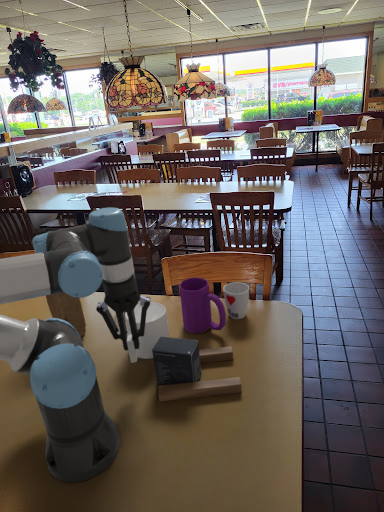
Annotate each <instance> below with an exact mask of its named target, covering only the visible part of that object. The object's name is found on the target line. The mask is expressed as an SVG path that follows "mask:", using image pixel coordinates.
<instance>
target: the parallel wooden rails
mask: <svg viewBox="0 0 384 512" xmlns="http://www.w3.org/2000/svg"><path fill="white" fill-rule="evenodd" d="M199 355H200V364H202V363H204V364H205V363H212V362H214V363H215V362H221V361H222V362H223V361H230V360H234V352H233V348H232V346H231V345H230V346H223V347H222V346H221V347H212V348H206V349H205V348H204V349H199ZM239 393H242V383H241V378H240V376H236V377H230V378H229V377H228V378H220V379H219V378H217V379H210V380H209V379H208V380H201V381H200V380H199V381H198V382H190V383H182V384H173V385H164V384H163V385H159V386H158V399H159V402H166V401H174V400H175V401H176V400H184V399H191V398H192V399H193V398H199V397H200V398H202V397H212V396H218V395H220V396H221V395H229V394H239Z"/></svg>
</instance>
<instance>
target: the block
mask: <svg viewBox="0 0 384 512" xmlns="http://www.w3.org/2000/svg"><path fill="white" fill-rule="evenodd" d="M45 299H46V304H47V307H48V309H49V312H50V315H51V316H52V317H51V318H58V319H62V320H65V321H67V322H68V323H70V324H71V325H72V326H73V327H74V328H75V329H76V331H77V332H78V333H79V335H80V338H81V339H82V338H83V336H84V335H85V334H86V331H87V329H86V327H87V324H86V319H85V315H84V310H83V305H82V302H81V298H78V297H72V296H70V295H68V294H66V293H65V292H62V293H56V294H50V295H45Z"/></svg>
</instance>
